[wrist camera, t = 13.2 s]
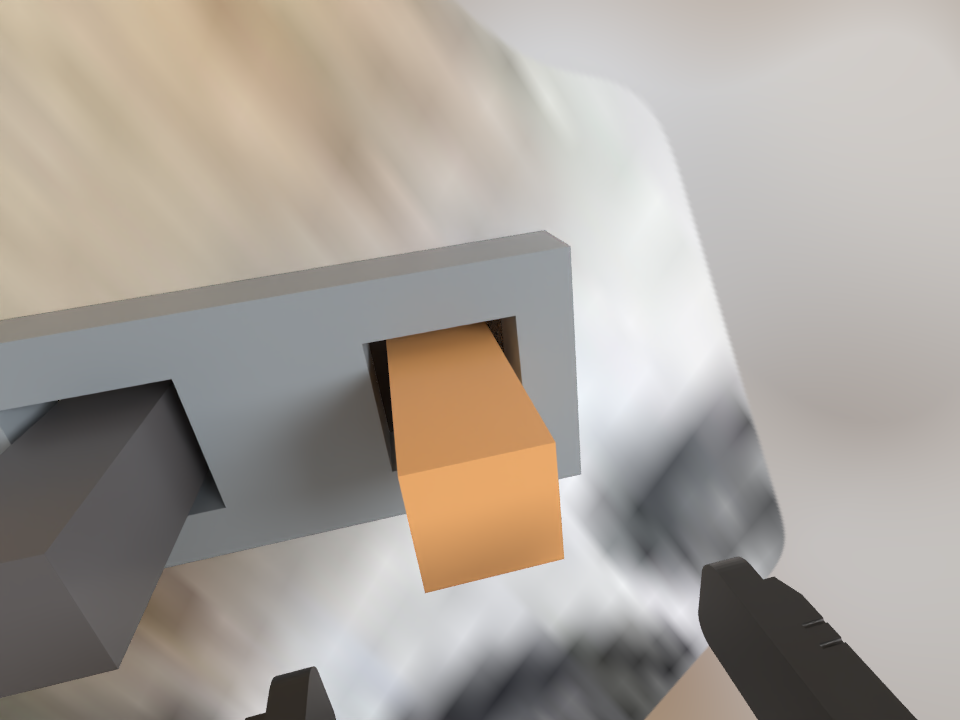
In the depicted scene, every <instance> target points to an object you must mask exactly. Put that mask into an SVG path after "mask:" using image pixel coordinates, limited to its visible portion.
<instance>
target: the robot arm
mask: <svg viewBox="0 0 960 720" xmlns="http://www.w3.org/2000/svg"><path fill="white" fill-rule="evenodd" d="M698 616H699V622H700V626H701V629H702V632H703V634H704V637H705V639H706V641H707V643H708V644H709V646H710V647H711V649H712V651H713V652H714V654H715V655H716V657H717V658H718V660H719V661H720V662H721V664H722V666H723V667H724V668H725V670H726V672H727V673H728V675H729V676H730V678H731V679H732V681H733V682H734V684H735V685H736V687H737V688H738V690H739V691H740V693H741V695H742V696H743V697H744V699H745V701H746V702H747V704H748V705H749V707H750V708H751V710H752V711H753V713H754V714H755V716H756V717H757V719H758V720H917V719H916V718H915V717H914V716H913V715H912V714H911V713H910V712H909V710H908V709H907V708H906V707H905V706H904V705H903V704H902V703H901V702H900V701H899V700H898V699H897V698H896V696H895V695H894V694H893V693H892V692H891V691H890V690H889V689H888V688H887V687H886V685H885V684H884V683H882V681H881V680H880V679H879V678H878V677H877V676H876V675H875V674H874V672H873V671H872V670H871V669H870V668H869V667H868V666H867V665H866V664H865V663H864V662H863V661H862V659H861V658H860V657H859V656H858V655H857V654H856V653H855V652H854V651H853V650H852V649H851V647H850V646H849V645H848V644H847V643H846V642H845V643H844V642H843V641H842V639H841V637H840V636H839V634H838V633H837V632H836V631H835V630H834V629H833V628H832V627H831V626H830V625H829V624H828V623H825V622H824V620H823V617H822V616H821V615H820V614H819V613H818V612H817V611H816V609H815V608H814V607H813V606H812V605H811V604H810V603H809V602H808V601H807V600H806V599H805V598H804V597H803V595H801V594H800V593H799V592H797V591H795V590H794V589H792V588H791V587H789V586H788V585H786V584H785V583H783V582H781V581H780V580H778V579H777V578H775V577H771V578H767V579H764V580H763V579H762V578H761V576H760V575H759V574H758V573H757V572H756V571H755V570H754V568H753V567H752V566H751V565H750V564H749V563H748V562H747V561H746V560H745V559H743V558H742V557H734V558H730V559H726V560H722V561H719V562H715V563H711V564H707V565H705V566H704V567H703V569H702V577H701V588H700V599H699V610H698ZM245 720H336V718H335V714H334V711H333V708H332V705H331V703H330V700H329V698H328V695H327V693H326V690H325V688H324V685H323V683H322V680H321V678H320V675H319V673H318V670H317V668H316V667H315V666H313V667H309V668H306V669H302V670H298V671H294V672H290V673H286V674H283V675H279V676H275V677H274V678H273V680H272V682H271V685H270V690H269V696H268V702H267V708H266V713H263V714H259V715H255V716H252V717H248V718H246V719H245Z"/></svg>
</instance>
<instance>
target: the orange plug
mask: <svg viewBox="0 0 960 720" xmlns="http://www.w3.org/2000/svg"><path fill="white" fill-rule="evenodd" d="M386 344H387V356H388V368H389V379H390V391H391V403H392V414H393V426H394V438H395V450H396V461H397V473H398V480H399V484H400V488H401V492H402V497H403V501H404V505H405V509H406V514H407V518H408V522H409V526H410V531H411V535H412V539H413V543H414V548H415V552H416V556H417V560H418V564H419V569H420V573H421V577H422V581H423V586H424V590H425V593H428V592H432V591H436V590H440V589H444V588H448V587H452V586H456V585H460V584H464V583H468V582H472V581H476V580H480V579H484V578H488V577H492V576H496V575H500V574H505V573H509V572H513V571H517V570H521V569H525V568H529V567H533V566H537V565H541V564H545V563H549V562H553V561H557V560H561V559H564V551H563V537H562V523H561V510H560V496H559V482H558V469H557V455H556V442H555V440H554V439H553V437H552V435H551V434H550V432H549V430H548V428H547V427H546V425H545V423H544V422H543V420H542V418H541V416H540V415H539V413H538V411H537V410H536V408H535V406H534V405H533V403H532V401H531V399H530V398H529V396H528V394H527V393H526V391H525V389H524V387H523V386H522V384H521V382H520V381H519V379H518V377H517V375H516V374H515V372H514V370H513V369H512V367H511V365H510V363H509V362H508V360H507V358H506V357H505V355H504V353H503V351H502V350H501V348H500V346H499V345H498V343H497V341H496V339H495V338H494V336H493V334H492V333H491V331H490V329H489V328H488V326H487V324H486V322H485V321H484V322H478V323H473V324H468V325H462V326H457V327H451V328H446V329H440V330H435V331H430V332H424V333H419V334H413V335H408V336H402V337H397V338H392V339H386Z"/></svg>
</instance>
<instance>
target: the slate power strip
mask: <svg viewBox="0 0 960 720" xmlns="http://www.w3.org/2000/svg"><path fill="white" fill-rule="evenodd" d="M500 318H501V327H502V336H503V345H504V354H505V357H506V358H507V360H508V362H509V363H510V365H511V367H512V369H513V370H514V372H515V374H516V375H517V377H518V379H519V381H520V382H521V384H522V386H523V387H524V389H525V391H526V393H527V394H528V396H529V398H530V399H531V401H532V403H533V405H534V406H535V408H536V410H537V411H538V413H539V415H540V416H541V418H542V420H543V422H544V423H545V425H546V427H547V428H548V430H549V432H550V434H551V435H552V437H553V439H554V440H555V442H556V455H557V469H558V479H562V478H566V477H571V476H575V475H580V474H581V463H580V441H579V420H578V398H577V377H576V355H575V334H574V312H573V291H572V269H571V248H570V246H569V245H568V244H566V243H564V242H563V241H561V240H560V239H558V238H556V237H555V236H553V235H551V234H550V233H548V232H547V231H545V230H544V231H538V232H532V233H526V234H520V235H514V236H508V237H502V238H496V239H490V240H484V241H478V242H472V243H466V244H460V245H454V246H448V247H442V248H436V249H430V250H424V251H417V252H411V253H405V254H399V255H393V256H387V257H381V258H375V259H369V260H363V261H357V262H351V263H345V264H339V265H333V266H327V267H321V268H315V269H309V270H303V271H296V272H290V273H284V274H278V275H272V276H266V277H260V278H254V279H248V280H242V281H236V282H230V283H224V284H218V285H212V286H206V287H200V288H194V289H188V290H182V291H176V292H169V293H163V294H157V295H151V296H145V297H139V298H133V299H127V300H121V301H115V302H109V303H103V304H97V305H91V306H85V307H79V308H73V309H67V310H61V311H55V312H49V313H42V314H36V315H30V316H24V317H18V318H12V319H6V320H0V698H2V697H6V696H10V695H14V694H18V693H22V692H26V691H30V690H35V689H39V688H43V687H47V686H51V685H55V684H59V683H63V682H67V681H71V680H75V679H79V678H84V677H88V676H92V675H96V674H100V673H104V672H108V671H112V670H116V669H118V668H119V666H120V664H121V662H122V659H123V657H124V655H125V653H126V651H127V648H128V646H129V644H130V642H131V640H132V637H133V635H134V633H135V631H136V629H137V626H138V624H139V622H140V620H141V618H142V615H143V613H144V611H145V609H146V607H147V604H148V602H149V600H150V598H151V596H152V593H153V591H154V589H155V587H156V585H157V582H158V580H159V578H160V576H161V574H162V571H163V569H164V568H167V567H172V566H176V565H180V564H185V563H189V562H194V561H198V560H203V559H207V558H211V557H216V556H220V555H225V554H229V553H234V552H238V551H243V550H247V549H251V548H256V547H260V546H265V545H269V544H274V543H278V542H282V541H287V540H291V539H296V538H300V537H305V536H309V535H314V534H318V533H322V532H327V531H331V530H336V529H340V528H345V527H349V526H353V525H358V524H362V523H367V522H371V521H376V520H380V519H385V518H389V517H393V516H398V515H402V514H406V509H405V505H404V501H403V497H402V492H401V488H400V484H399V480H398V473H397V461H396V450H395V438H394V431H393V432H389V428H388V424H387V419H386V415H385V411H384V406H383V402H382V398H381V393H380V389H379V385H378V380H377V376H376V372H375V367H374V363H373V359H372V354H371V350H370V346H369V343H370V342H375V341H381V340H386V339H392V338H397V337H402V336H408V335H413V334H419V333H424V332H430V331H435V330H440V329H446V328H451V327H457V326H462V325H468V324H473V323H478V322H484V321H489V320H495V319H500ZM57 400H60V401H59V402H58V401H57Z"/></svg>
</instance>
